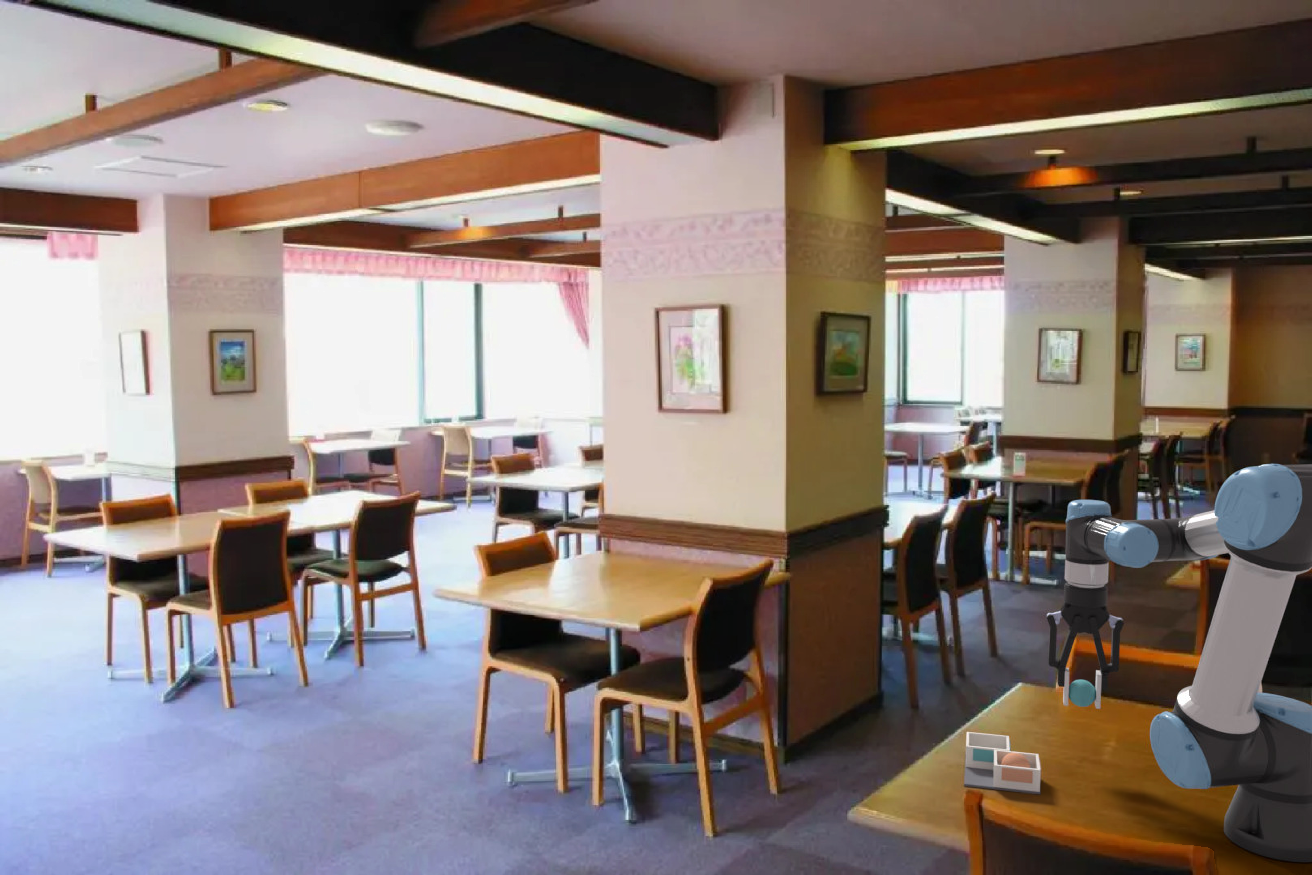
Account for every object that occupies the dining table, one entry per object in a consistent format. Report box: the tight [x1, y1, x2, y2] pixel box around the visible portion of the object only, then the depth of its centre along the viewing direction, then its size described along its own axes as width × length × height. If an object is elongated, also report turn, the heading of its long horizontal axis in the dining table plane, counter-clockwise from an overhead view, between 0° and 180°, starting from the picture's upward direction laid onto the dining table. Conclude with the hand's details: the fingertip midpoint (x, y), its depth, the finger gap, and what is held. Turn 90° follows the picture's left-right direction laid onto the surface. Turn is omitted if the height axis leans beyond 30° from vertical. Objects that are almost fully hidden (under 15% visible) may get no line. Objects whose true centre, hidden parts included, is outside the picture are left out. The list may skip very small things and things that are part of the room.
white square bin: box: [965, 731, 1012, 770], centre depth 206 cm, size 8×8×4 cm
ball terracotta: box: [1001, 753, 1030, 768], centre depth 197 cm, size 5×5×5 cm
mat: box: [963, 753, 1041, 795], centre depth 201 cm, size 16×13×1 cm
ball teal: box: [1068, 679, 1096, 708], centre depth 204 cm, size 5×5×5 cm
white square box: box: [993, 750, 1042, 793], centre depth 197 cm, size 8×8×4 cm
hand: (1081, 704), depth 204 cm, fingers closed on ball teal, 5 cm apart
